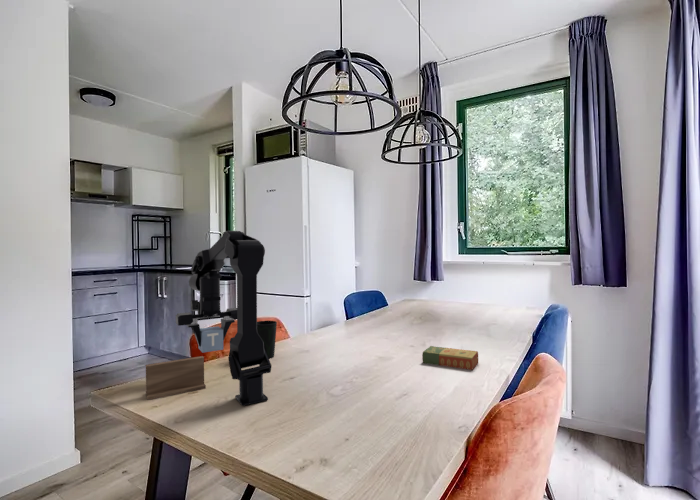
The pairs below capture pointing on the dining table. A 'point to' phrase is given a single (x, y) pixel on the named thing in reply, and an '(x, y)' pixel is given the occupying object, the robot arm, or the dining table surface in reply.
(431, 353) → the carton
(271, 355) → the cup
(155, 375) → the wooden l bracket
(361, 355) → the dining table surface
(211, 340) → the letter cube
